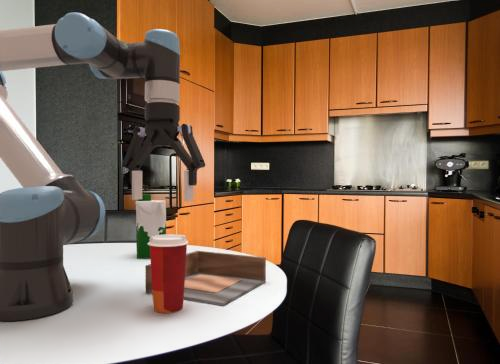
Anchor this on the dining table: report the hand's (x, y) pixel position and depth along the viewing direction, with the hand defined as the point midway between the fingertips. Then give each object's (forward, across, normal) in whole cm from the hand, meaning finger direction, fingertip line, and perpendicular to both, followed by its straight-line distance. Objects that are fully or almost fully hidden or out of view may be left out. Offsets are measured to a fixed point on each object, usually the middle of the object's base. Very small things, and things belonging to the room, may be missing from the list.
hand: (162, 200), depth 87 cm
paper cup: (+20, -7, +8) cm, 23 cm away
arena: (+20, -7, -8) cm, 23 cm away
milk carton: (+21, +27, -32) cm, 47 cm away
